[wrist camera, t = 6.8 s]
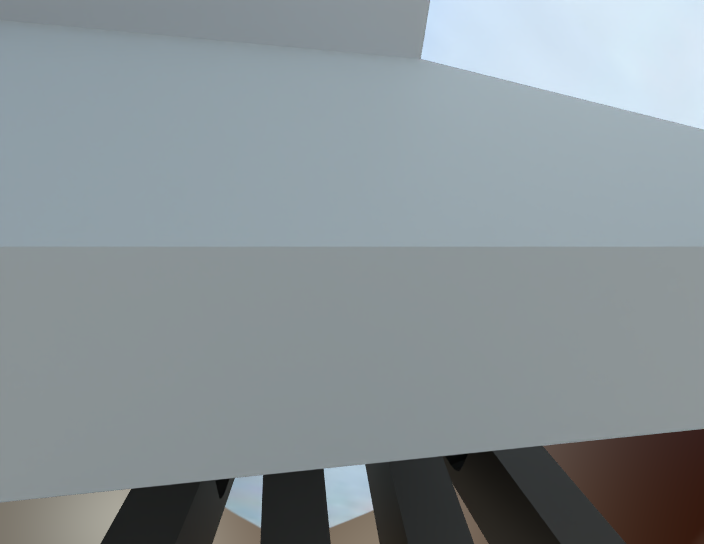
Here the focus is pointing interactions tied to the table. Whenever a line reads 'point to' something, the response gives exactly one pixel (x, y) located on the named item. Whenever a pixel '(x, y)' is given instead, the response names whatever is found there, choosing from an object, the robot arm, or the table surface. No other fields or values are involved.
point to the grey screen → (321, 249)
